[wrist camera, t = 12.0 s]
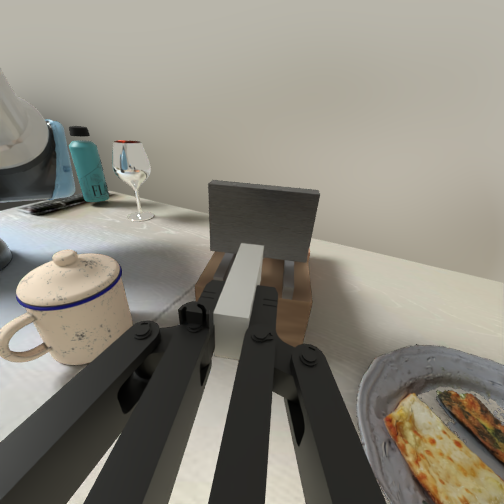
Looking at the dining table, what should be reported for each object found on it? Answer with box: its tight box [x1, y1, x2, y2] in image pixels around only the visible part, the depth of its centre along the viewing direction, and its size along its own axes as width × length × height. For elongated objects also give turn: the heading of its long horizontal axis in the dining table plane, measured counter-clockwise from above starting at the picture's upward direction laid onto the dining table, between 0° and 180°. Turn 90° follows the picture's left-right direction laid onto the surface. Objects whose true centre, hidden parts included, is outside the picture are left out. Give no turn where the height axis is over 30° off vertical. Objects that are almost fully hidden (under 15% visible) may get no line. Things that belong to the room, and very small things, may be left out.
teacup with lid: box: [0, 250, 133, 365], centre depth 25 cm, size 12×9×12 cm
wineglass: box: [112, 141, 154, 221], centre depth 58 cm, size 8×8×18 cm
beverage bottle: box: [69, 126, 109, 202], centre depth 64 cm, size 6×7×20 cm
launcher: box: [195, 251, 312, 347], centre depth 32 cm, size 14×12×10 cm
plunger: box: [208, 180, 320, 263], centre depth 28 cm, size 10×10×9 cm
